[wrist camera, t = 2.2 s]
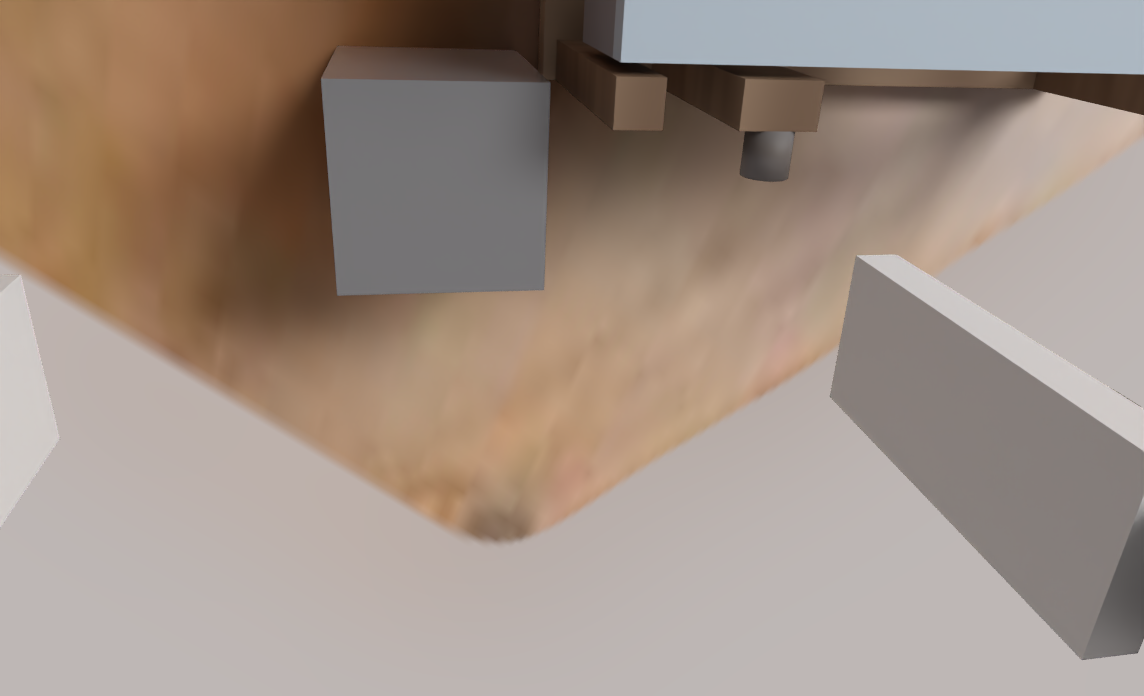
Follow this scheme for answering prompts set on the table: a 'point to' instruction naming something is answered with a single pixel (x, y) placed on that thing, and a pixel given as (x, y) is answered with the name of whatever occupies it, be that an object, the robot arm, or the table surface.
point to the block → (436, 169)
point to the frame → (764, 89)
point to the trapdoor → (875, 33)
